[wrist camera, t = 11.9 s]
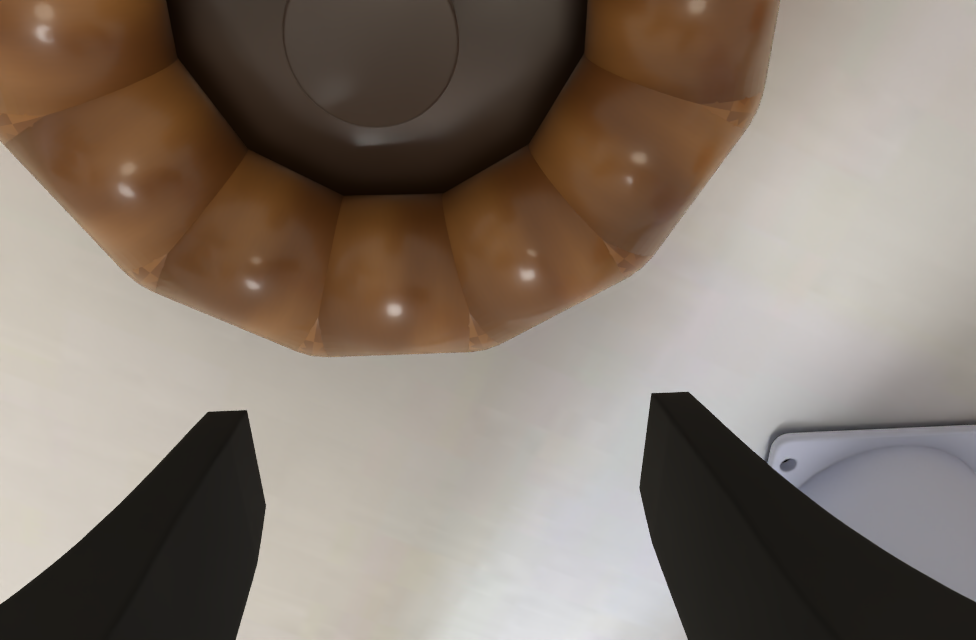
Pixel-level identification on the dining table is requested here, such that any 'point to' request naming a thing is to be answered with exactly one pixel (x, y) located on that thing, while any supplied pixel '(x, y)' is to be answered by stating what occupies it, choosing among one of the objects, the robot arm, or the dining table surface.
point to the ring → (378, 218)
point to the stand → (381, 82)
